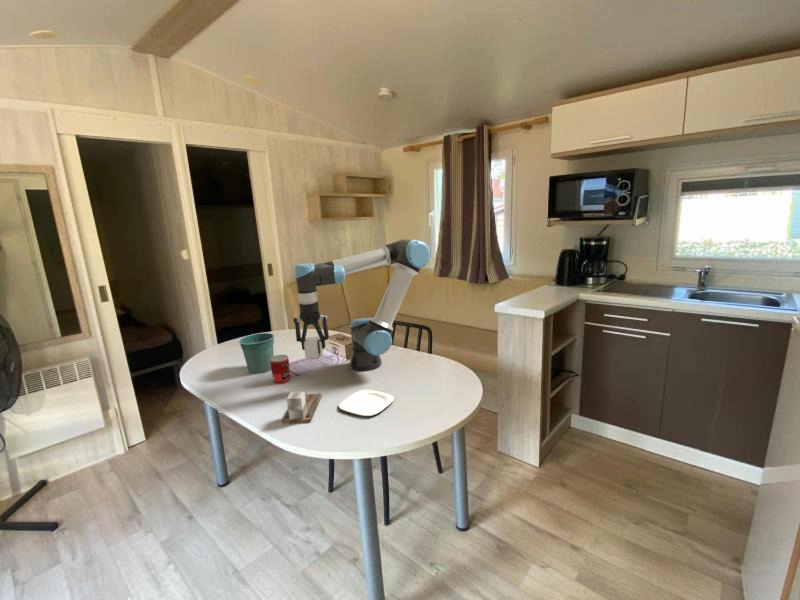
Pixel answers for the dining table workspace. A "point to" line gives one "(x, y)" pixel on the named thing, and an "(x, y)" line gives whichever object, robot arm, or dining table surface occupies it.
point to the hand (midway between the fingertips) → (314, 356)
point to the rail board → (308, 404)
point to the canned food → (280, 369)
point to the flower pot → (258, 351)
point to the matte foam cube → (312, 348)
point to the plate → (366, 402)
